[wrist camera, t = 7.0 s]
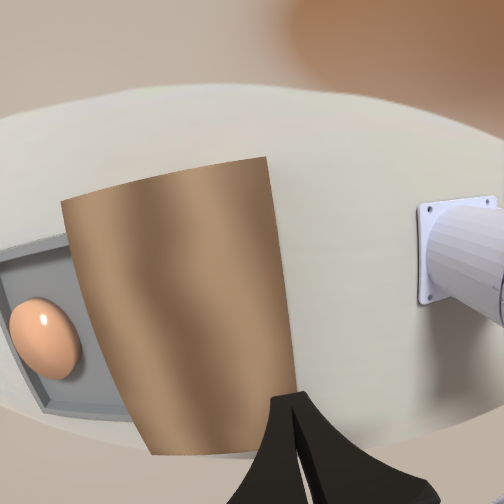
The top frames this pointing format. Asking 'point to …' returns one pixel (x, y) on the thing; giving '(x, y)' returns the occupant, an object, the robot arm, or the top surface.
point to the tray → (71, 302)
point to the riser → (188, 302)
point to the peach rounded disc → (45, 338)
